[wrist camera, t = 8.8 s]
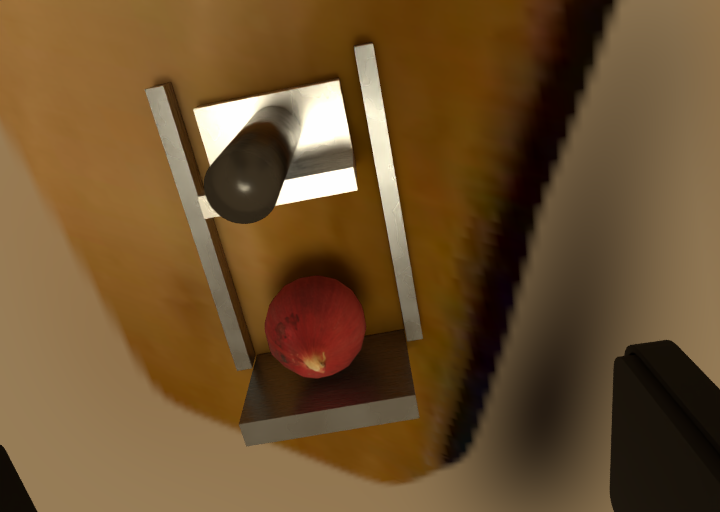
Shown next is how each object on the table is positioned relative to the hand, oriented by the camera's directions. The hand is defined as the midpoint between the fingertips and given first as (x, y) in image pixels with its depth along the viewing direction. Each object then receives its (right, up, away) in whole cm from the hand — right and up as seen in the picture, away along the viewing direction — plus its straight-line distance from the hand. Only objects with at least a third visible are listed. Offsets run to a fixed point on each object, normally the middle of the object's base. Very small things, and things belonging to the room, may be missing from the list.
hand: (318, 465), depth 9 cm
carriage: (-4, +11, +24) cm, 26 cm away
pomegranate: (-2, +1, +28) cm, 28 cm away
